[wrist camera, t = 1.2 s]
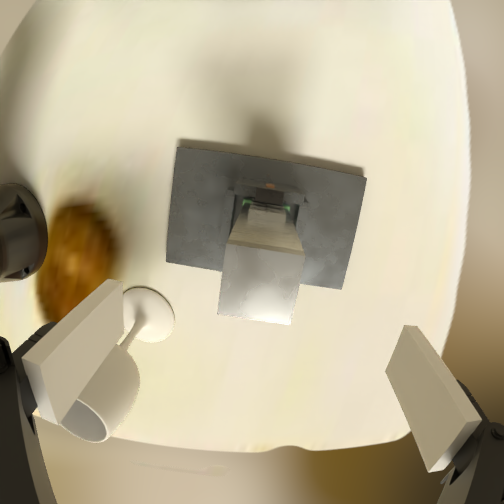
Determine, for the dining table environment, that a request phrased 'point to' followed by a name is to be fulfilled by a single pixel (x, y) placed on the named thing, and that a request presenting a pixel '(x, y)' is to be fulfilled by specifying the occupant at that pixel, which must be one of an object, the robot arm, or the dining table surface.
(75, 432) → the wineglass
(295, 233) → the column
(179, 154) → the stand base
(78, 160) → the dining table surface
